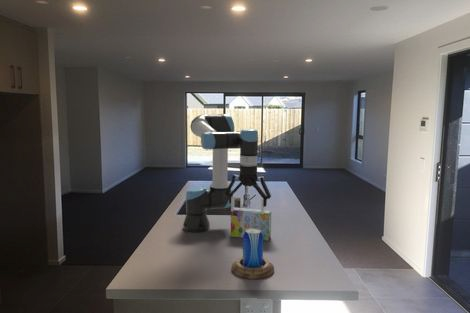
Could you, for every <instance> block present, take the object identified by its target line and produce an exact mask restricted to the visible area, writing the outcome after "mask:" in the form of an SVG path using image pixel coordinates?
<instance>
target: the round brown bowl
mask: <svg viewBox="0 0 470 313" xmlns="http://www.w3.org/2000/svg"><path fill="white" fill-rule="evenodd" d="M231 272H232V274H234V275H235V276H237V277H238V278H241V279H245V280H254V281H255V280H263V279H266V278H269V277H271V276H272V275H273V274H274V272H275V266H274V265H273V264H272V262H270V261H269V260H268V259H267V258H266V257H263V265H262V266H261V267H260V268H247V267H244V265H243V256H240V257H238V258H237V259H236V260H235V261H234V262H233V263H232V264H231Z"/></svg>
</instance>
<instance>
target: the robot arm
mask: <svg viewBox="0 0 470 313" xmlns="http://www.w3.org/2000/svg"><path fill="white" fill-rule="evenodd" d="M189 126H190V131H191V133H193V135H194V136H197V137H199V138H200V144H201V148H202V149H204V150H212V182H211V184H210V185H209V188H207V187H206V186H203V185H200V186H194V187H193V186H192V187H190V188H188V189H187V190H186V192H185V214H186V215H185V216H184V217H185V218H184V219H183V220H184V221H183V224H182V225H183V226H182V229H183V230H184V231H186V232H191V233H201V232H205V231H208V230H210V227H211V226H210V225H211V224H210V221H209V217H208V214H207V211H208V210H215V209H217V210H218V209H221V210H222V209H223V210H224V209H226V208H228V209H229V208H230V212H231V211H234V207H235V200H236V199H235V195H234V194H236V193H237V191H238V190H239V188H241V186H244V187H247V186H248V187H253V188H254V189H255V190H256V191H257V193H258V194H259V195H260V196H261V206H260V207H261V209H260V210H261V214H263V213H264V210H265V207H267V203H268V200H270V199H271V197H272V194H271V192H270V190H269V188H268V186H267V183H266V182H265V176H264V175H262V176H258V152H259V151H258V149H259V148H258V147H259V143H258V142H259V131H258V130H257V129H255V128H254V129H253V128H243V129H241V130H236V131H235V123H234V120H233V117H232V116H231V115H230V114H227V113H226V114H225V113H222V114H221V113H219V114H207V113H204V114H200V115H197V116H195V117H194V118H193V119H192V120H191V123H190V125H189ZM229 149H230V150H231V149H232V150H233V149H239V150H240V151H239V152H240V153H239V165H240V166H239V174H236V173H235V174H233V175H232V177H231V181H230V183H228V174H229V172H228V171H229V170H228V169H229V168H228V162H229V161H228V160H229V153H228V152H229V151H228V150H229ZM237 180H239V183H238V184H237V185H236V187H235V188H234V189H233V187H234V185H235V182H236V181H237ZM257 181H258V182H260V185H261V187H262V188H261V187H260V186H259V184H258V182H257Z"/></svg>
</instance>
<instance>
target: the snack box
mask: <svg viewBox="0 0 470 313" xmlns="http://www.w3.org/2000/svg"><path fill="white" fill-rule="evenodd" d="M248 228H257V229H260V230H261V233H262V235H263V242H264V241H265V242H269V240H271V237H272V211H271V210H265V209H264V213H263V214H261V209H255V208H243V207H235V206H234V211H231V210H230V237H232V238H233V237H235V238H242V239H243V235H244V233H245V232H246V231H245V230H246V229H248Z"/></svg>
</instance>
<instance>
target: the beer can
mask: <svg viewBox="0 0 470 313" xmlns="http://www.w3.org/2000/svg"><path fill="white" fill-rule="evenodd" d="M245 231H246V232H245V233H244V235H243V238H242V257H243V265H244V267H247V268H260V267H261V266H262V265H263V258H264V240H263V235H262V233H261V230H260V229H257V228H248V229H246V230H245Z"/></svg>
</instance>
